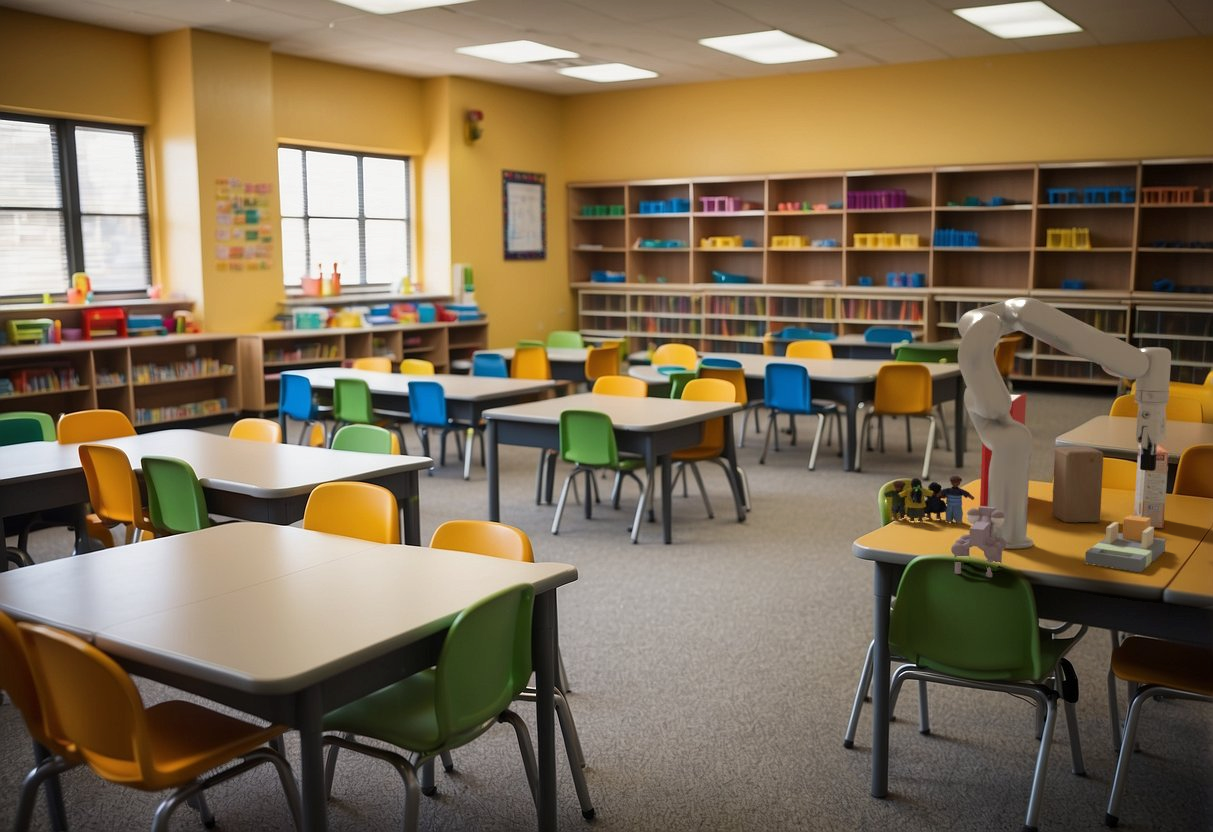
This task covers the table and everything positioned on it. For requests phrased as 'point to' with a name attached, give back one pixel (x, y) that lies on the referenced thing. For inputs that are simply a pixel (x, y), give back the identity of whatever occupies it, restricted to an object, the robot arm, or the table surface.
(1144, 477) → the cracker box
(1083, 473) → the wooden block
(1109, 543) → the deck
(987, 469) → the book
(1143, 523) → the cube
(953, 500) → the doll family
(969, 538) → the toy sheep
